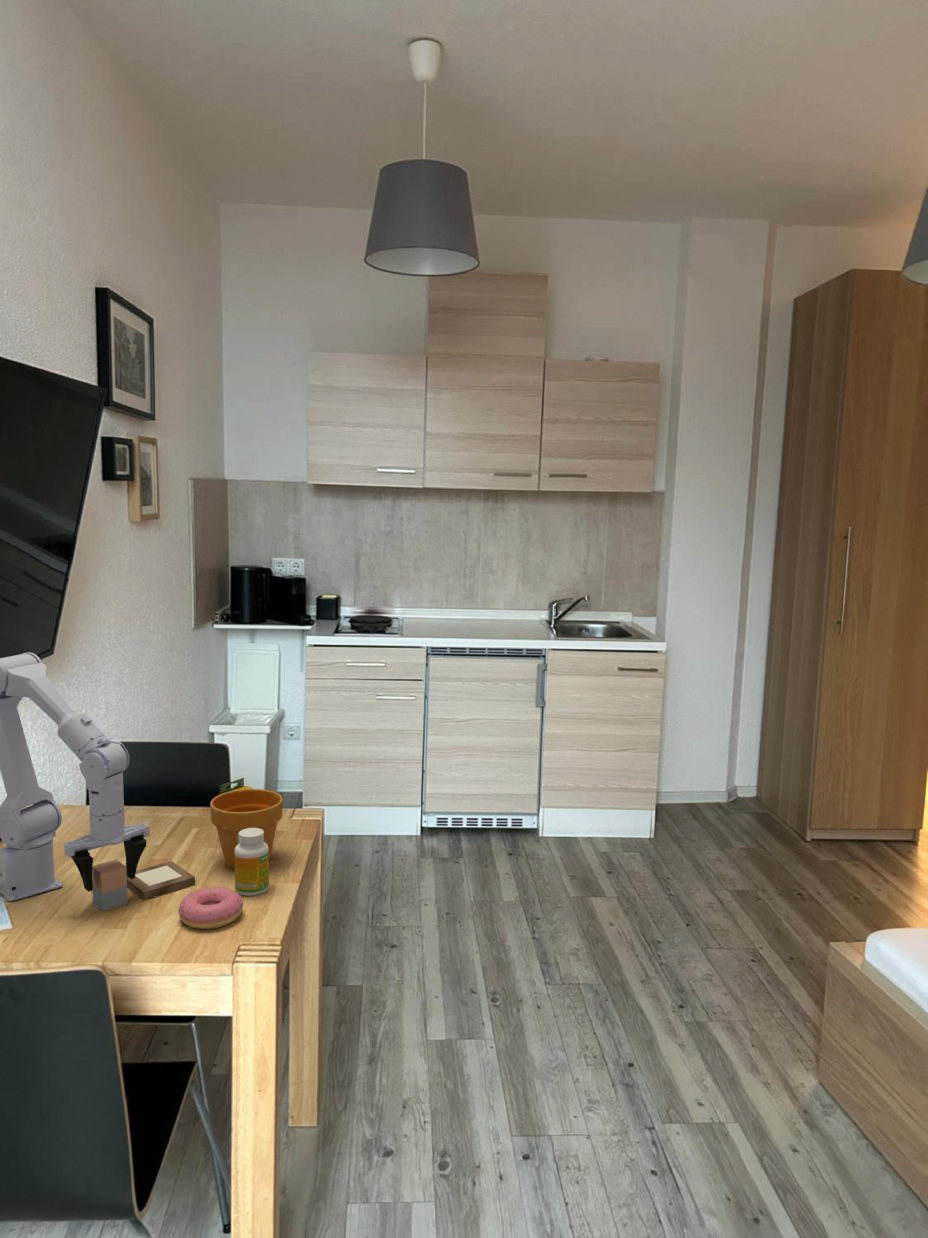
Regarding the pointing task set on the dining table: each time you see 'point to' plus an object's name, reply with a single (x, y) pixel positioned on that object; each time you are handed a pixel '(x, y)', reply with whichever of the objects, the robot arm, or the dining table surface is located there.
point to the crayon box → (238, 787)
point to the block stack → (109, 885)
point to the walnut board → (160, 880)
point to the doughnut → (210, 907)
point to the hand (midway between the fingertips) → (109, 883)
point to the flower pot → (245, 817)
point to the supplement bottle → (251, 863)
